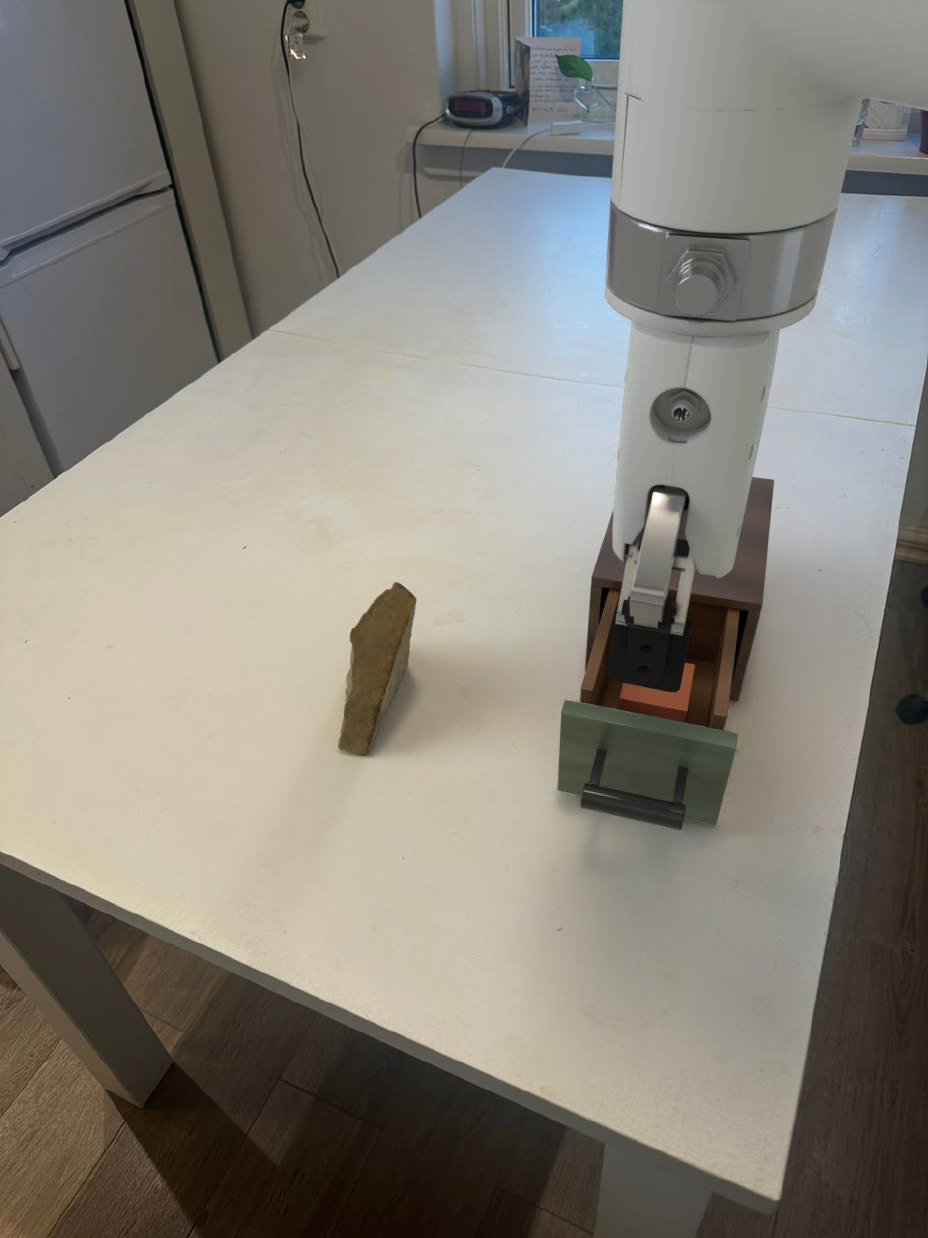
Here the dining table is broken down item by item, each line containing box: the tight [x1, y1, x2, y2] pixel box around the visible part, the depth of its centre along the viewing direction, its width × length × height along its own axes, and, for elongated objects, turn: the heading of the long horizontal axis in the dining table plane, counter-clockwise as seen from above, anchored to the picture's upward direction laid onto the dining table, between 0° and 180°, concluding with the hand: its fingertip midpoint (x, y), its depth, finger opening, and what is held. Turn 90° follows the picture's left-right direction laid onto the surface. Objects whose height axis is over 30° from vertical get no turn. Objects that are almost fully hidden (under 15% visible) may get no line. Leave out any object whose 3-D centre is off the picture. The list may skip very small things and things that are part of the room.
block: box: [618, 663, 695, 723], centre depth 59 cm, size 4×4×4 cm
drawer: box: [557, 588, 740, 832], centre depth 58 cm, size 19×10×8 cm, turn 162°
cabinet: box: [584, 476, 775, 702], centre depth 69 cm, size 16×12×10 cm
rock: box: [337, 581, 417, 755], centre depth 64 cm, size 11×9×10 cm
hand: (661, 612), depth 42 cm, fingers open, 9 cm apart
